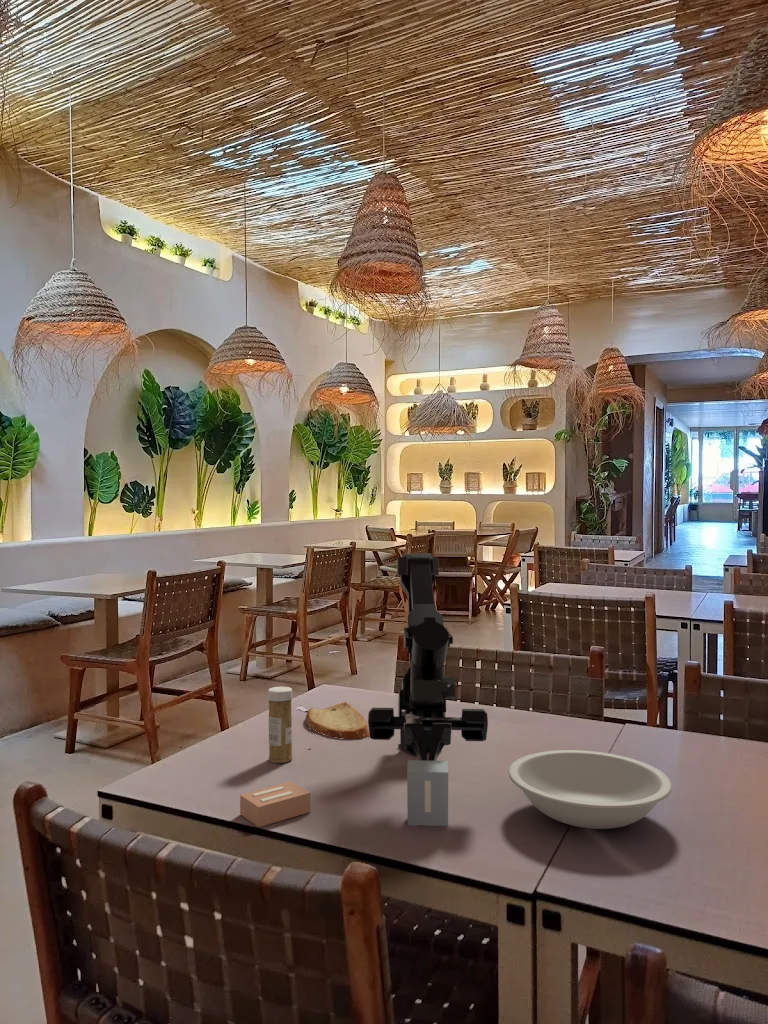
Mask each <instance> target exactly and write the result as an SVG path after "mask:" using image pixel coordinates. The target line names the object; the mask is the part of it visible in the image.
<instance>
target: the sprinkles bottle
mask: <svg viewBox="0 0 768 1024" xmlns="http://www.w3.org/2000/svg"><path fill="white" fill-rule="evenodd" d="M267 699H268V744H269V745H268V746H269V747H268V748H269V753H268V754H269V755H268V760H269V762H271V763H275V764H286V763H287V762H290V761H292V760H293V747H292V745H293V744H292V743H293V723H292V722H293V721H292V720H293V718H292V701H293V688H291V686H290V687H289V686H273V687H271V688H270V687H269V688H268V690H267Z"/></svg>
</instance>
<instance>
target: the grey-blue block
mask: <svg viewBox="0 0 768 1024" xmlns="http://www.w3.org/2000/svg"><path fill="white" fill-rule="evenodd" d="M406 767H407V769H406V770H407V771H406V774H407V775H406V779H407V780H406V782H407V784H406V787H407V789H406V790H407V792H406V793H407V794H406V795H407V796H406V798H407V802H406V803H407V807H406V808H407V826H415V827H416V826H418V825H425V826H424V827H426V826H427V827H449V760H436V761H428V760H427V761H423V760H419V759H418V760H417V759H416V760H415V759H413V760H412V759H411V760H410V759H408V760H407V766H406Z"/></svg>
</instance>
